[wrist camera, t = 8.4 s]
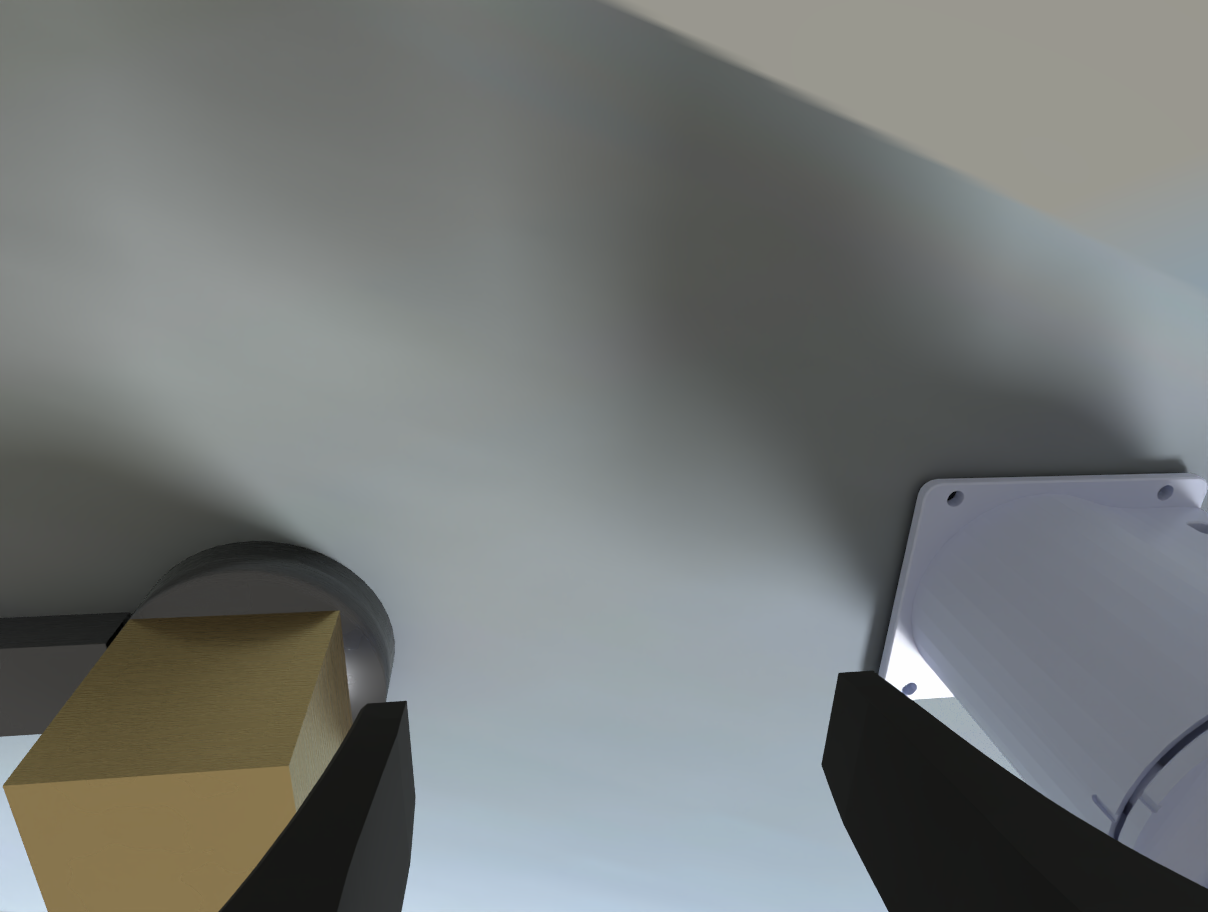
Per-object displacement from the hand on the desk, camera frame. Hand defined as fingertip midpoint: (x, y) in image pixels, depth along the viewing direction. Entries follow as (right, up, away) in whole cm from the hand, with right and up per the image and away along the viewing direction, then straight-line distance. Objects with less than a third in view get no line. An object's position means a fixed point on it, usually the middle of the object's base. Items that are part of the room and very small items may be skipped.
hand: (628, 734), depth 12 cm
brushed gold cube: (-10, -2, +7) cm, 12 cm away
